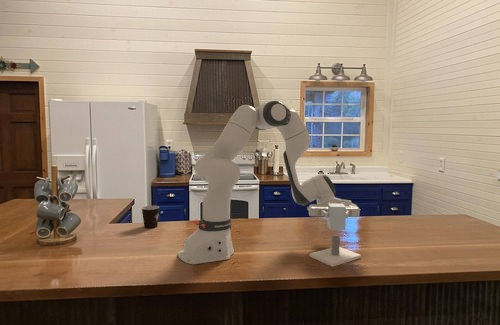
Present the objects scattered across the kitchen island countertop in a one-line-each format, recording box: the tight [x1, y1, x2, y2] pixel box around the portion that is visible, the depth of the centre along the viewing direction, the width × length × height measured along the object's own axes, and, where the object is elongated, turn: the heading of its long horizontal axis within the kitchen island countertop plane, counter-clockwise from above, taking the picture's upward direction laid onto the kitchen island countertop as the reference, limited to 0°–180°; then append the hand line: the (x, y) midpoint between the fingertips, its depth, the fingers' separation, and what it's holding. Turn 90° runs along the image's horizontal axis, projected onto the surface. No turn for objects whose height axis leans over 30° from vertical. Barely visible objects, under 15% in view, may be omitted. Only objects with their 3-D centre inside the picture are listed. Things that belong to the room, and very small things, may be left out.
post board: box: [309, 235, 362, 267], centre depth 134 cm, size 16×12×8 cm
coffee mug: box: [141, 205, 160, 230], centre depth 175 cm, size 12×9×10 cm
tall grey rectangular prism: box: [327, 203, 347, 231], centre depth 133 cm, size 6×6×9 cm
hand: (336, 215), depth 132 cm, fingers closed on tall grey rectangular prism, 6 cm apart
